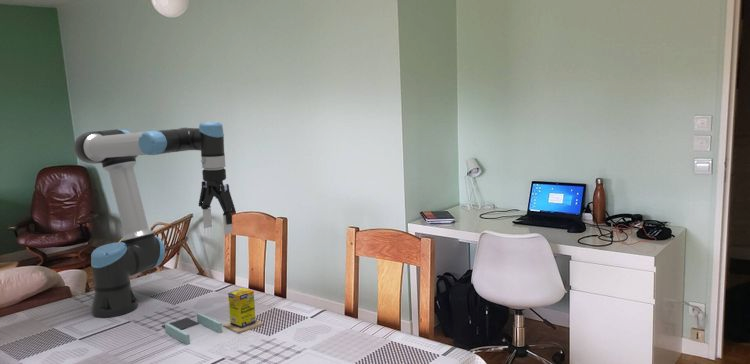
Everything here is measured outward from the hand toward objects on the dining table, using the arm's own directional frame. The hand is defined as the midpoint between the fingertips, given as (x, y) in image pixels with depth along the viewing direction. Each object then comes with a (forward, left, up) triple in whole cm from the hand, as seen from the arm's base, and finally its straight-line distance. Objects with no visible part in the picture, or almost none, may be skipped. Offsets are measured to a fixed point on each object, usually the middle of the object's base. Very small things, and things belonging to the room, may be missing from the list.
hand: (217, 230), depth 188 cm
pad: (+16, -3, -29) cm, 33 cm away
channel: (+8, -16, -29) cm, 34 cm away
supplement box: (+16, -3, -29) cm, 33 cm away
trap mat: (-1, -16, -29) cm, 33 cm away
